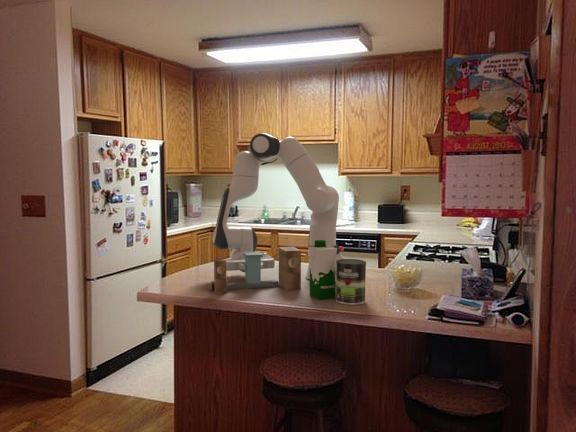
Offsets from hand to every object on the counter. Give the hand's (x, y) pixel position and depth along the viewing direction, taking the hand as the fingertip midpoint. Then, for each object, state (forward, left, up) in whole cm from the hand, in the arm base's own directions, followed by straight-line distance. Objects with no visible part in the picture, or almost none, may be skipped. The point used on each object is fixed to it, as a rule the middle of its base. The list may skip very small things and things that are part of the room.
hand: (253, 267), depth 190 cm
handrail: (+3, -1, -8) cm, 9 cm away
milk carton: (-21, +20, -8) cm, 30 cm away
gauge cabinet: (-14, +2, -8) cm, 16 cm away
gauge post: (+14, +4, -8) cm, 16 cm away
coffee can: (-28, +29, -8) cm, 41 cm away
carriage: (0, -1, -6) cm, 6 cm away
